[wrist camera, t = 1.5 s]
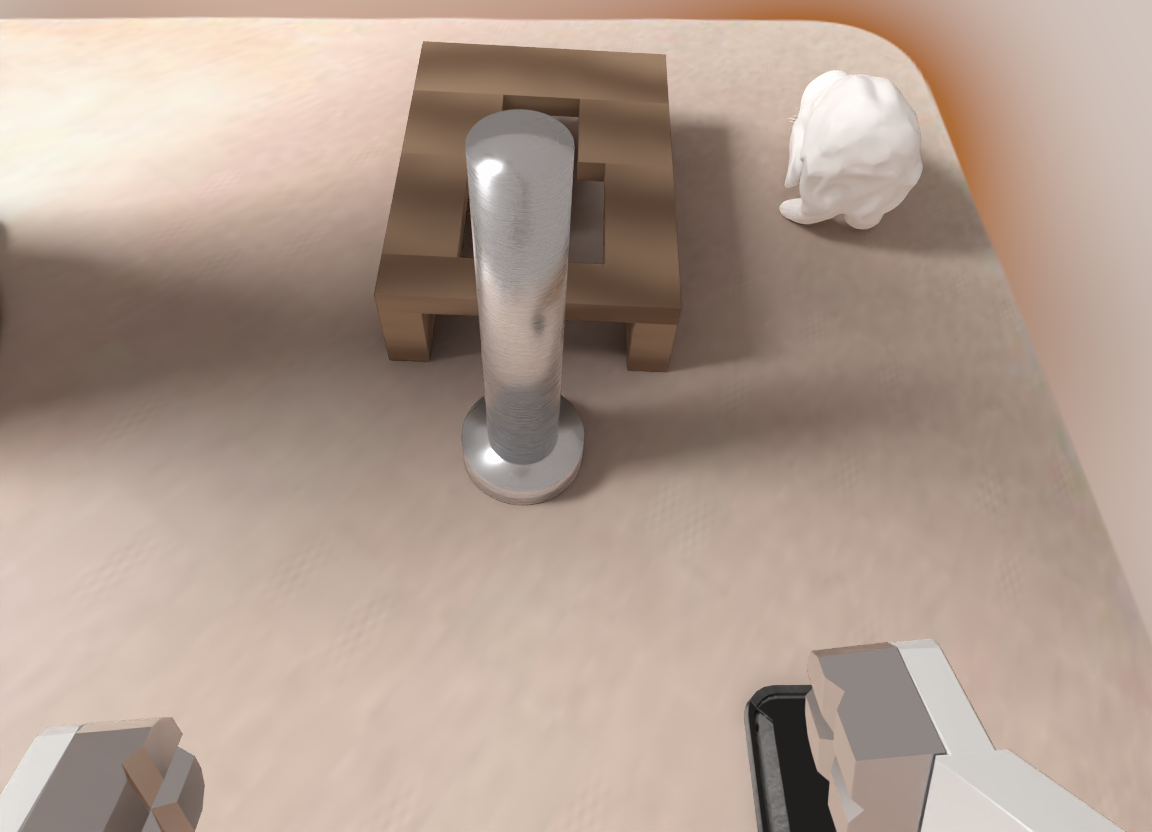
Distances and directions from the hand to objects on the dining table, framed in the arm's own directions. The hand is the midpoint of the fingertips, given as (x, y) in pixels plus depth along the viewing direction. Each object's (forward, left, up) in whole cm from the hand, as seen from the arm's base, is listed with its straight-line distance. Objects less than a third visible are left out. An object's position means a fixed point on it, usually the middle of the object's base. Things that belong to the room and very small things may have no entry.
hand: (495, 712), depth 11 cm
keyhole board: (-11, +30, -23) cm, 39 cm away
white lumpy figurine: (+3, +40, -24) cm, 47 cm away
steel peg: (-7, +16, -23) cm, 29 cm away
